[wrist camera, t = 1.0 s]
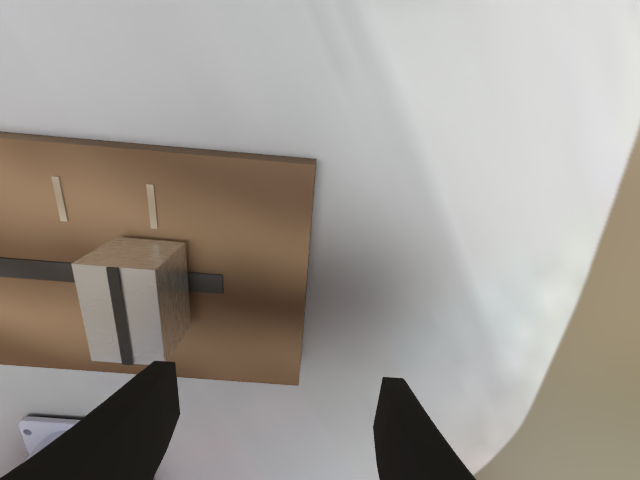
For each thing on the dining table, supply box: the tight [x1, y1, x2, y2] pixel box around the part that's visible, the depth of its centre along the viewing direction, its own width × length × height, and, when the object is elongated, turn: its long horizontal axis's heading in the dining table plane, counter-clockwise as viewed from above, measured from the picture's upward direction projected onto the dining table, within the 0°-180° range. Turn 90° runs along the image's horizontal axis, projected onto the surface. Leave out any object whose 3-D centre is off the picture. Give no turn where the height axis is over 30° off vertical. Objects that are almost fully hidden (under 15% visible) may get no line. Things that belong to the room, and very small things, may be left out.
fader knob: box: [71, 237, 191, 366], centre depth 14 cm, size 4×3×3 cm
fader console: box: [0, 132, 316, 385], centre depth 16 cm, size 12×26×2 cm, turn 85°
